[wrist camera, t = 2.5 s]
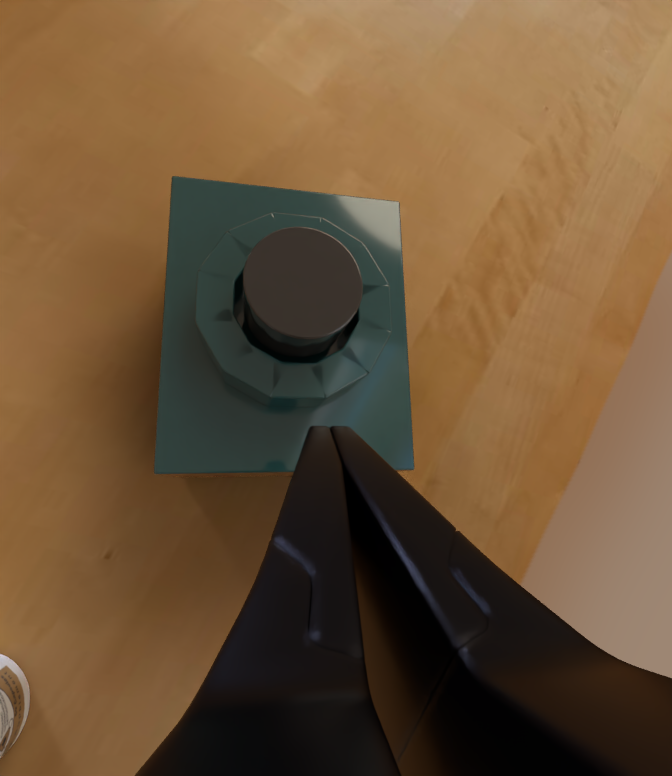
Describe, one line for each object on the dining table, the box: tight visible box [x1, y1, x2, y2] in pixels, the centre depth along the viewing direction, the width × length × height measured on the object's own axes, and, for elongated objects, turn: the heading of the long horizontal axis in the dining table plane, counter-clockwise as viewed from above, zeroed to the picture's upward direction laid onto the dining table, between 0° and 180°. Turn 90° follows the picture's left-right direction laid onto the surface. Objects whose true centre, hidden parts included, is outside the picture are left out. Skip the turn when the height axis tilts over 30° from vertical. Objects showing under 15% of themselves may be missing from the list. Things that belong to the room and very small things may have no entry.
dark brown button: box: [242, 227, 363, 357], centre depth 14 cm, size 4×4×2 cm
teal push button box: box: [154, 176, 414, 478], centre depth 19 cm, size 11×9×9 cm
